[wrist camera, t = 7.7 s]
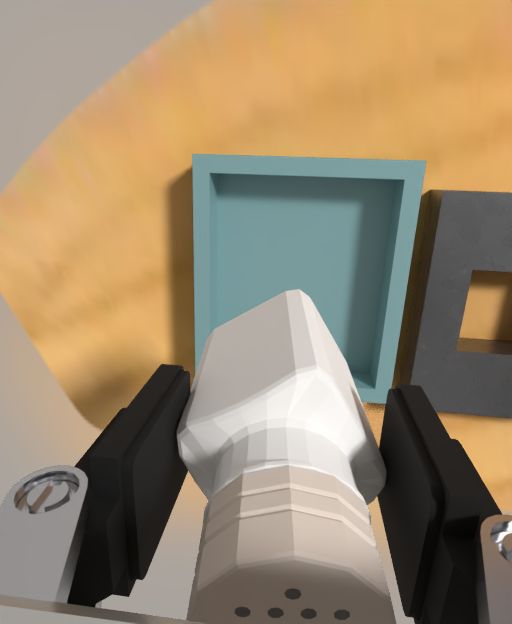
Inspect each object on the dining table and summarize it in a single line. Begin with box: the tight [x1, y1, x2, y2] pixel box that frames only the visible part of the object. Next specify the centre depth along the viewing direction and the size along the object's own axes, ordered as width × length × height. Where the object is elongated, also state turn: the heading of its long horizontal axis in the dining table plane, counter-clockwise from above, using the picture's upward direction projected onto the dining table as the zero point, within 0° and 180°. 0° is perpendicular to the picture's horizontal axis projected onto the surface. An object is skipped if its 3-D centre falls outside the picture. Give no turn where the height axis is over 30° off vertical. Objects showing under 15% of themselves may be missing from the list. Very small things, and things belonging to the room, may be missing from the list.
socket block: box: [399, 190, 512, 418], centre depth 26 cm, size 10×14×2 cm
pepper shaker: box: [176, 289, 396, 624], centre depth 11 cm, size 4×4×10 cm
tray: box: [192, 154, 426, 404], centre depth 26 cm, size 13×15×3 cm
